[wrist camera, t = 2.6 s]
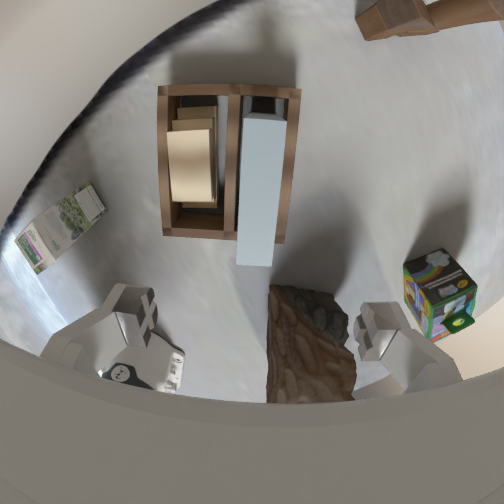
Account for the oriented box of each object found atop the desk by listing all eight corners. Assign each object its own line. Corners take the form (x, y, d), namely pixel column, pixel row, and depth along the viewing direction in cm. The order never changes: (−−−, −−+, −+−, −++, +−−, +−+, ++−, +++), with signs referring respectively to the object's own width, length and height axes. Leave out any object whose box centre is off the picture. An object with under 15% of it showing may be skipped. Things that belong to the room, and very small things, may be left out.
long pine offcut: (219, 201, 37) (217, 208, 35) (187, 201, 37) (182, 207, 35) (218, 105, 30) (215, 106, 28) (183, 107, 30) (177, 108, 28)
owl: (343, 292, 44) (375, 396, 27) (317, 341, 50) (332, 434, 33) (270, 281, 43) (273, 394, 26) (254, 333, 49) (250, 433, 32)
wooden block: (353, 18, 22) (424, -30, 7) (417, 13, 20) (501, -12, 4) (364, 42, 24) (446, 10, 9) (426, 35, 22) (516, 22, 6)
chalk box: (403, 300, 45) (434, 361, 32) (401, 263, 41) (441, 325, 28) (443, 284, 43) (479, 338, 30) (444, 245, 39) (491, 299, 26)
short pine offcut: (214, 194, 32) (211, 200, 30) (177, 195, 32) (172, 201, 30) (212, 127, 28) (208, 129, 26) (172, 130, 28) (166, 132, 26)
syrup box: (69, 197, 36) (11, 241, 24) (91, 179, 35) (29, 221, 22) (87, 225, 39) (35, 277, 26) (109, 210, 37) (56, 262, 25)
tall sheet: (267, 203, 36) (271, 266, 24) (245, 201, 36) (236, 264, 23) (275, 113, 30) (286, 121, 17) (250, 111, 30) (243, 118, 17)
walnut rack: (281, 226, 38) (284, 243, 34) (173, 219, 38) (163, 235, 34) (295, 91, 28) (301, 89, 24) (171, 87, 28) (157, 86, 24)
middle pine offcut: (216, 196, 34) (214, 201, 32) (181, 196, 34) (177, 201, 32) (215, 117, 29) (212, 118, 27) (177, 119, 29) (172, 120, 27)
